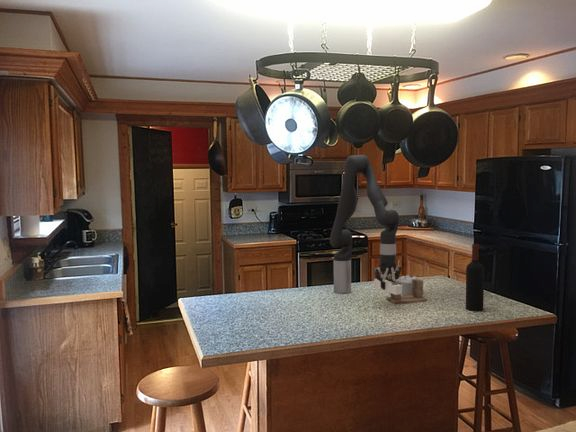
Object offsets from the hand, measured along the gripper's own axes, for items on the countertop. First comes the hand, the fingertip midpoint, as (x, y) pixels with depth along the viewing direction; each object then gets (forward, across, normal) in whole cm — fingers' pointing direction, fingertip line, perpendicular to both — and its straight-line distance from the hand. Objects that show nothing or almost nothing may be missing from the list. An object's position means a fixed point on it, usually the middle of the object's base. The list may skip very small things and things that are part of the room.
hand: (387, 288), depth 227 cm
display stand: (+9, -14, -6) cm, 18 cm away
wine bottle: (+8, -35, +18) cm, 40 cm away
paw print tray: (+9, -22, -19) cm, 31 cm away
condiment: (+9, -18, -32) cm, 38 cm away
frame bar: (+1, 0, 0) cm, 1 cm away
